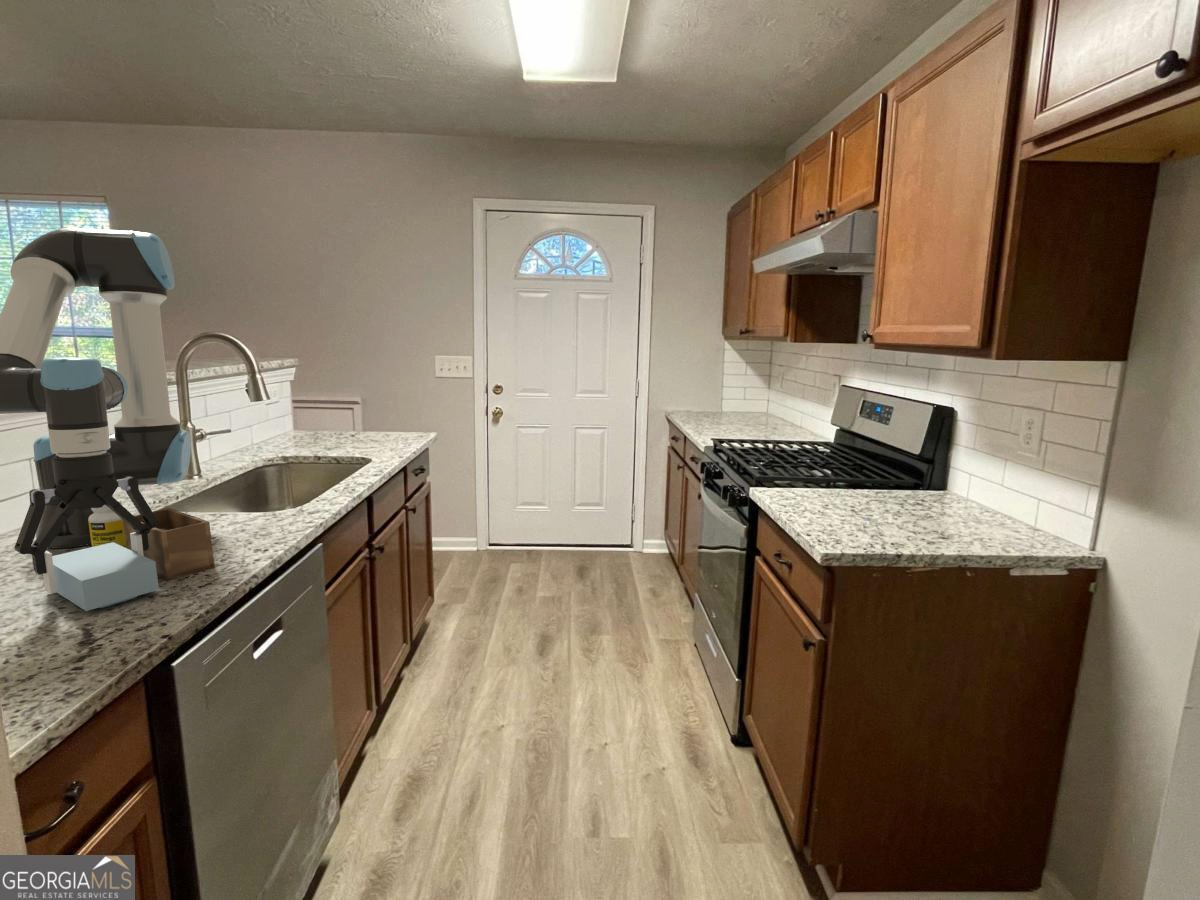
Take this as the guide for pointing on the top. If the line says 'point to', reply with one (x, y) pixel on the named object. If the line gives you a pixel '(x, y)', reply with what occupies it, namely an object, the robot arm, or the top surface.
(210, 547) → the box
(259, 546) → the top surface
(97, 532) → the pill bottle
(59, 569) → the light blue block
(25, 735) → the top surface
